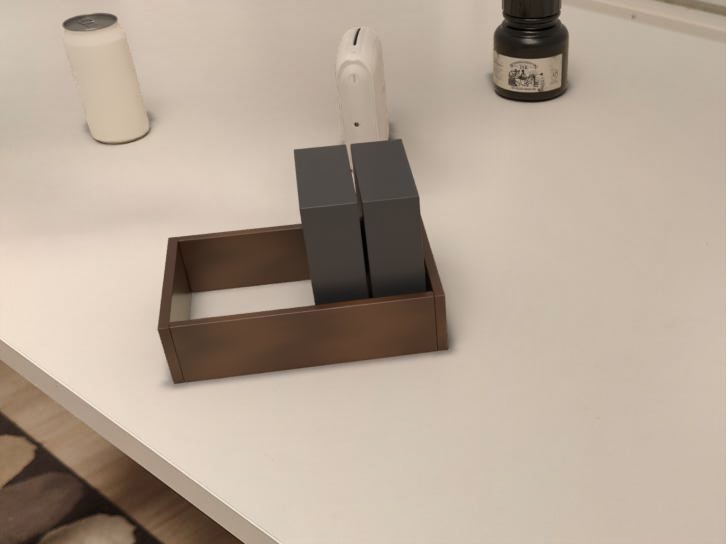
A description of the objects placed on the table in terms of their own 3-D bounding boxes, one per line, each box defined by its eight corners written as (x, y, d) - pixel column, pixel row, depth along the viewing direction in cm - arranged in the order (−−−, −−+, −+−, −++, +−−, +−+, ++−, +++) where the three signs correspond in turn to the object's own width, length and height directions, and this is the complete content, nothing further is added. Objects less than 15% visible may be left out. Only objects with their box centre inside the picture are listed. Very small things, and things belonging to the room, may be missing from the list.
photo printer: (385, 174, 98) (373, 49, 90) (343, 175, 98) (328, 50, 90) (392, 133, 106) (382, 15, 97) (354, 134, 106) (340, 16, 97)
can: (106, 150, 104) (72, 35, 96) (83, 132, 108) (48, 20, 100) (160, 134, 107) (131, 21, 99) (136, 117, 111) (106, 7, 102)
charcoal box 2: (378, 346, 73) (361, 202, 65) (366, 281, 80) (349, 143, 72) (429, 340, 74) (419, 196, 66) (412, 275, 81) (401, 138, 73)
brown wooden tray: (177, 396, 71) (157, 329, 67) (185, 301, 81) (167, 237, 77) (448, 362, 73) (445, 295, 69) (424, 273, 83) (419, 210, 79)
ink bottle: (480, 98, 113) (478, -12, 105) (503, 72, 119) (502, -33, 111) (559, 106, 110) (563, -5, 102) (578, 79, 116) (583, -28, 108)
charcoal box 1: (322, 353, 73) (299, 208, 65) (315, 286, 80) (293, 148, 72) (374, 347, 73) (357, 202, 65) (362, 281, 80) (345, 143, 72)
